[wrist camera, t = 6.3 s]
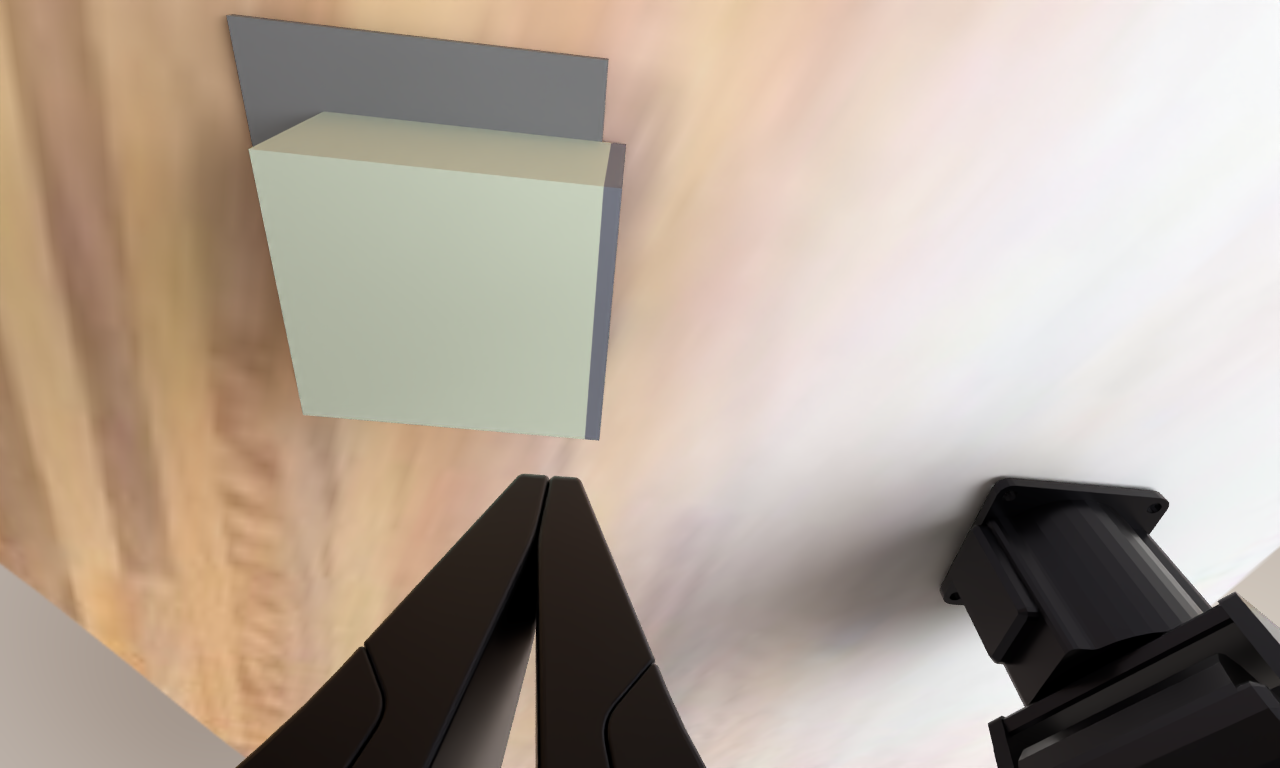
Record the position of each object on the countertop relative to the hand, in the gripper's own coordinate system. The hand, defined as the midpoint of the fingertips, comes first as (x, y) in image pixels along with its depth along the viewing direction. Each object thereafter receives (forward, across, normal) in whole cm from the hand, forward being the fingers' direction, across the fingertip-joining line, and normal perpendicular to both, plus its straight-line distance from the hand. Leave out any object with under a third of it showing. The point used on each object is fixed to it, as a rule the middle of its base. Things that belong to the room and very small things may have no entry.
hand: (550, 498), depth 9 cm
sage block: (+10, -1, +1) cm, 10 cm away
